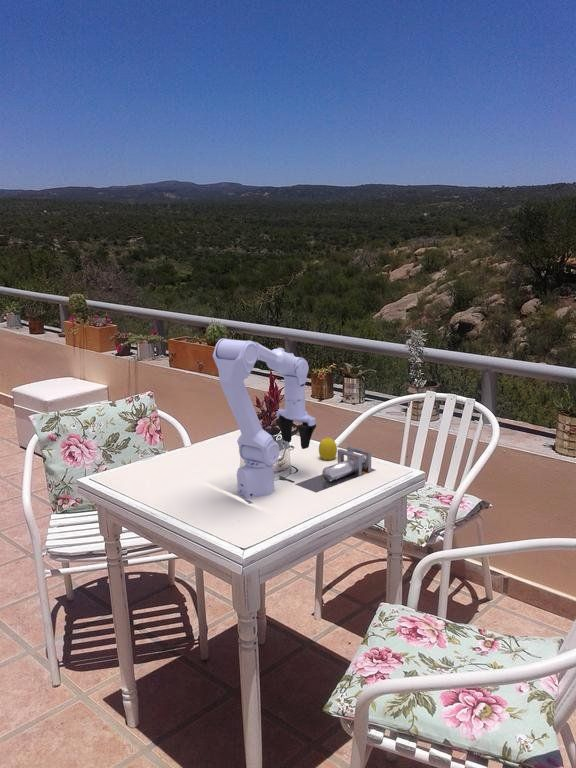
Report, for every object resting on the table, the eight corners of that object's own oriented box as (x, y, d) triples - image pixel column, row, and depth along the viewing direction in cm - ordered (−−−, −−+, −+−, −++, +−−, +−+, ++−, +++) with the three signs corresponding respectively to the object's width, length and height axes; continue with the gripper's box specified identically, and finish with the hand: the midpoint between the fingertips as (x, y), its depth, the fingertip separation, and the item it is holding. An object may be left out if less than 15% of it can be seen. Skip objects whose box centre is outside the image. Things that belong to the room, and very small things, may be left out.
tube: (330, 484, 180) (334, 473, 178) (320, 475, 183) (324, 464, 181) (367, 471, 190) (371, 460, 188) (357, 462, 192) (361, 451, 190)
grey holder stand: (316, 496, 174) (315, 471, 172) (294, 488, 180) (293, 464, 179) (376, 473, 189) (376, 450, 187) (354, 466, 195) (354, 444, 194)
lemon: (337, 465, 197) (337, 439, 196) (319, 465, 197) (318, 440, 196) (336, 459, 203) (336, 434, 201) (318, 459, 203) (318, 434, 201)
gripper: (323, 400, 181) (323, 447, 184) (288, 392, 192) (290, 436, 195) (304, 405, 177) (305, 453, 180) (270, 396, 188) (271, 442, 191)
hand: (296, 445), depth 187 cm, fingers open, 7 cm apart
